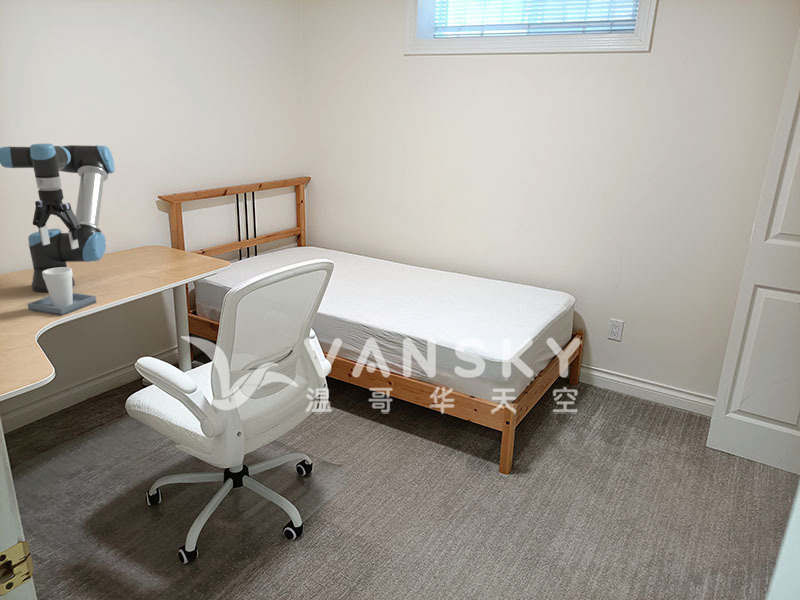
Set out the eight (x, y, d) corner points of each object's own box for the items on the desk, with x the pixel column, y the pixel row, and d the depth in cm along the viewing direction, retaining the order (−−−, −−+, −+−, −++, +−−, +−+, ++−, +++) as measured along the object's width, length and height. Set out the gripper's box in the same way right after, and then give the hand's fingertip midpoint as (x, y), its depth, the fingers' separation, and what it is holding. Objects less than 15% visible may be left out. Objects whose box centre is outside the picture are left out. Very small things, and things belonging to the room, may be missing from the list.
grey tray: (28, 310, 213) (27, 303, 212) (64, 297, 227) (63, 291, 226) (62, 315, 208) (61, 308, 207) (96, 302, 222) (95, 295, 221)
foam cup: (58, 299, 222) (52, 266, 218) (82, 300, 221) (76, 267, 217) (43, 308, 213) (36, 273, 209) (67, 308, 212) (61, 274, 208)
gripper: (13, 187, 208) (25, 245, 216) (68, 193, 201) (79, 252, 209) (32, 184, 215) (43, 240, 222) (85, 189, 208) (95, 247, 215)
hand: (60, 246), depth 215 cm, fingers open, 13 cm apart
